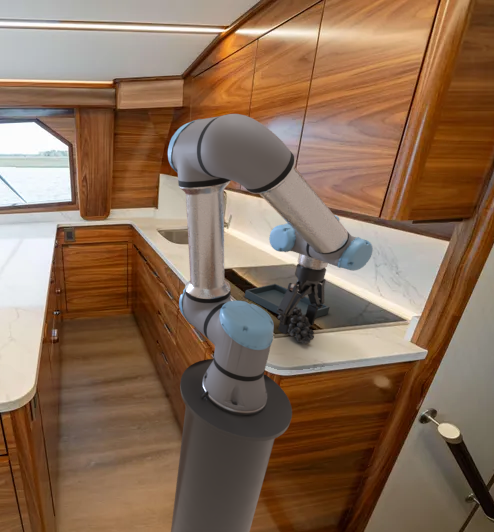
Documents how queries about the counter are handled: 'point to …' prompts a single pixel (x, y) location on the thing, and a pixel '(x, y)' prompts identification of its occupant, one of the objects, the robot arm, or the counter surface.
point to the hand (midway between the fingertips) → (295, 327)
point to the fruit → (300, 326)
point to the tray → (279, 299)
